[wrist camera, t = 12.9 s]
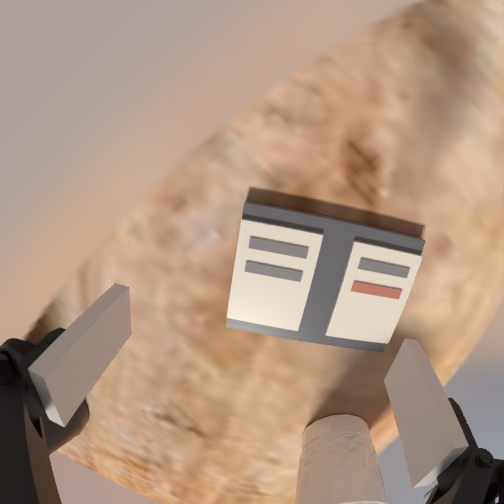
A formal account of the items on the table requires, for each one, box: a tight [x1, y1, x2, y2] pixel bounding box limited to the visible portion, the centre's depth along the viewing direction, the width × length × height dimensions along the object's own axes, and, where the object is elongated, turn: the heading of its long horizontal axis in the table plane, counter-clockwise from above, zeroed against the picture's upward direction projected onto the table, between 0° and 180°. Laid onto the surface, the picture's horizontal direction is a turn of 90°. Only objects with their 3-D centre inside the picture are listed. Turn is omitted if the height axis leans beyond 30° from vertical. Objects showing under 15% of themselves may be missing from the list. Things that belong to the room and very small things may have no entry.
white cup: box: [295, 414, 388, 504], centre depth 21 cm, size 8×8×10 cm
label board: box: [226, 200, 425, 352], centre depth 20 cm, size 12×9×1 cm
